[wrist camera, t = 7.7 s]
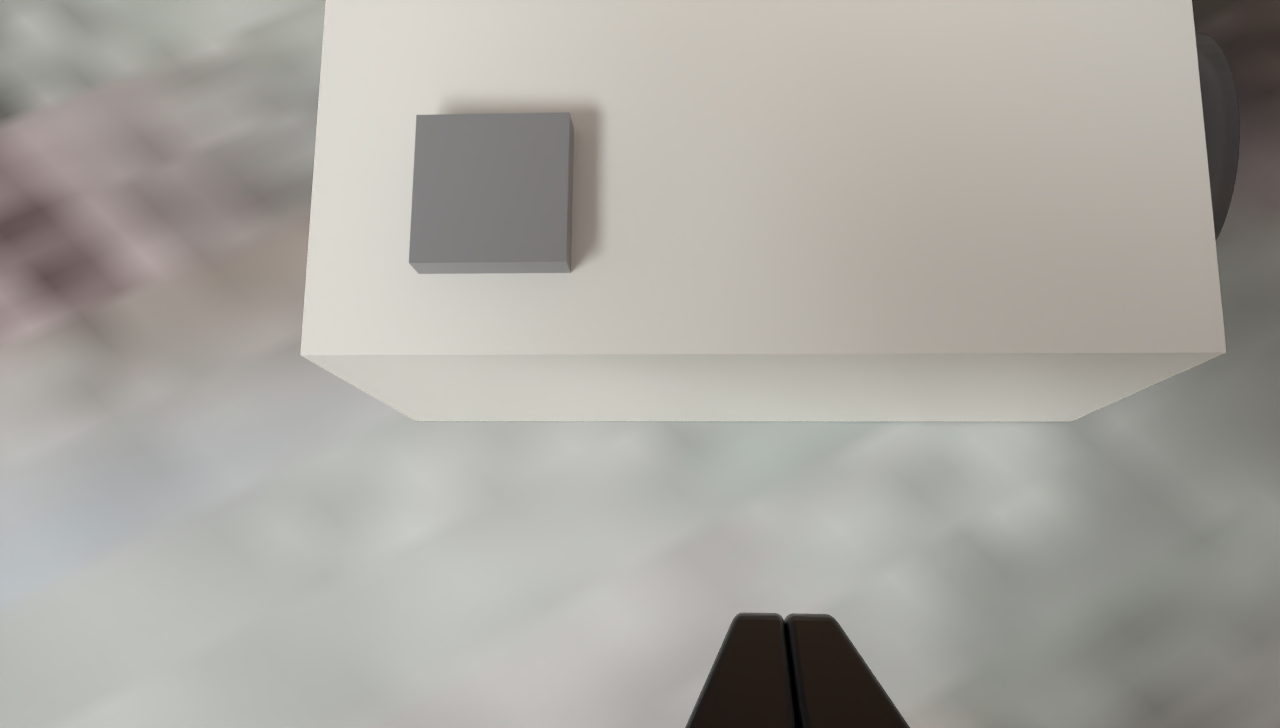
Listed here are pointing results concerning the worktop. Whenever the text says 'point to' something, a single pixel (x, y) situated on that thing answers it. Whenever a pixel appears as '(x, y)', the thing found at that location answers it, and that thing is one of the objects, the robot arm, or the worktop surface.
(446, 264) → the white box
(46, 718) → the worktop surface
